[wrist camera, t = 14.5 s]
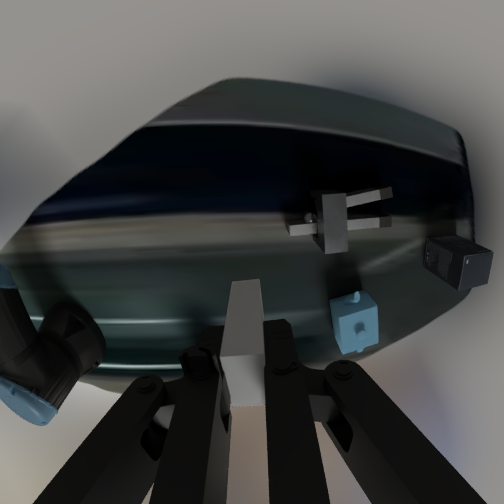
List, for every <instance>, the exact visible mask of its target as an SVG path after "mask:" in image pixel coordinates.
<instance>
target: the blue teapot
mask: <svg viewBox="0 0 504 504" xmlns="http://www.w3.org/2000/svg"><path fill="white" fill-rule="evenodd" d="M329 304H330V310H331V317H332V324H333V331H334V336H335V338H336V341H337V343H338V345H339V347H340V350H341V352H342V354H346V353H349V352H352V351H355V350H356V352H361V351H363V348H365V347H368V346H371V345H373V344H376V343H378V312H377V304H376V303H375V302H374V301H373V299H372V298H371V297H370V296H369V295H368V294H367V292H366V291H365V290H361V291H356V292H355V293H351V294H348V295H344V296H341V297H338V298H334V299H330V300H329Z"/></svg>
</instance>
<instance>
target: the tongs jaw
mask: <svg viewBox="0 0 504 504" xmlns="http://www.w3.org/2000/svg"><path fill="white" fill-rule="evenodd" d="M391 197H393V195H392V189H391V187H390V186H384V185H380V186H375V187H371V188H368V189H363V190H359V191H354V192H350V193H346V202H347V207H351V206H355V205H359V204H363V203H368V202H372V201H376V200H383V199H387V198H391ZM314 202H315V206H316V200H315V201H314ZM316 210H317V206H316Z"/></svg>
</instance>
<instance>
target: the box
mask: <svg viewBox="0 0 504 504" xmlns="http://www.w3.org/2000/svg"><path fill="white" fill-rule="evenodd" d="M492 258H493V251H491V250H489V249H487V248H484V247H482V246H480V245H478V244H476V243H474V242H471V241H469V240H467V239H464V238H462V237H460V236H458V235H448V236H435V237H427V244H426V253H425V262H424V267H425V268H426V269H428V270H429V271H430V272H432V273H433V274H435V275H436V276H438V277H439V278H441V279H442V280H443V281H445V282H446V283H448V284H449V285H451V286H452V287H453V288H455V289H456V290H458V291H461V290H465V289H469V288H473V287H477V286H481V285H485V284H487V283H488V278H489V274H490V269H491V263H492Z"/></svg>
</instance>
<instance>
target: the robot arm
mask: <svg viewBox="0 0 504 504" xmlns="http://www.w3.org/2000/svg"><path fill="white" fill-rule="evenodd" d="M105 355H106V344H105V340H104V337H103V335H102V333H101V331H100V329H99V327H98V326H97V324H96V323H95V322H94V321H93V319H92V318H91V317H90V316H89V315H88V314H87V313H85V312H84V311H83V310H82V309H80V308H78V307H77V306H75V305H73V304H70V303H64V302H62V303H57V304H56V305H54V306H53V307H52V308H51V309H49V310H48V312H47V313H46V315H45V317H44V319H43V321H42V323H41V325H40V327H39V330H38V332H37V331H36V329H35V327H34V325H33V323H32V321H31V319H30V317H29V314H28V312H27V310H26V308H25V306H24V303H23V301H22V298H21V296H20V294H19V291H18V287H17V285H16V284H15V282H14V280H13V278H12V275H11V273H10V270H9V268H8V267H7V266H6V265H4V264H1V263H0V399H1V400H2V401H3V402H4V403H5V404H6V405H7V406H8V407H9V408H10V409H11V410H12V411H14V412H15V413H16V414H17V415H19V416H20V417H21V418H23V419H25V420H26V421H28V422H30V423H32V424H35V425H38V426H44V425H46V424H48V423H49V422H50V421H51V419H52V418H53V417H54V416H55V414H57V413H58V410H59V408H60V406H61V405H62V403H63V402H64V400H65V399H66V397H67V396H68V394H69V393H70V391H71V390H72V388H73V387H74V385H75V384H76V382H77V381H78V379H79V378H80V377H82V376H83V375H85V374H87V373H88V372H90V371H92V370H93V369H95V368H97V367H98V366H99V365H100V363H101V362H102V360H103V359H104V357H105ZM178 357H179V360H180V363H181V366H182V369H183V372H184V376H183V377H182V378H180V379H177V380H174V381H169V382H163V380H162V379H161V378H160V377H158V376H156V375H144V376H141V377H139V378H137V379H136V380H135V381H133V382H132V383H131V385H130V386H129V387H128V388H127V389H126V391H125V392H124V393H123V394H122V395H121V397H120V398H119V399H118V400H117V402H116V403H115V404H114V405H113V406H112V407H111V409H110V410H109V411H108V412H107V413H106V415H105V416H104V417H103V418H102V419H101V421H100V422H99V423H98V424H97V425H96V427H95V428H94V429H93V430H92V432H91V433H90V434H89V435H88V437H87V438H86V439H85V440H84V441H83V442H82V444H81V445H80V446H79V447H78V449H77V450H76V451H75V452H74V454H73V455H72V456H71V457H70V458H69V459H68V461H67V462H66V463H65V465H64V466H63V467H62V468H61V469H60V471H59V472H58V473H57V474H56V475H55V477H54V478H53V479H52V480H51V482H50V483H49V484H48V485H47V487H46V488H45V489H44V490H43V492H42V493H41V494H40V495H39V496H38V498H37V499H36V500H35V502H34V503H33V504H141V503H142V502H143V500H144V498H145V496H146V495H147V493H148V491H149V490H150V488H151V486H152V485H153V483H154V485H153V489H152V494H151V497H150V502H149V504H226V498H227V481H228V467H229V452H230V437H231V421H232V416H231V411H230V400H231V404H232V407H244V406H259V405H265V406H266V427H267V451H268V476H269V503H270V504H330V500H329V494H328V489H327V484H326V478H325V473H324V468H323V463H322V458H321V453H320V448H319V443H318V438H317V433H316V428H315V423H314V421H318V422H321V423H322V425H323V427H324V428H325V430H326V432H327V433H328V435H329V437H330V438H331V440H332V441H333V443H334V445H335V446H336V448H337V450H338V451H339V453H340V454H341V456H342V458H343V459H344V461H345V463H346V464H347V466H348V467H349V469H350V471H351V472H352V474H353V475H354V477H355V478H356V480H357V482H358V483H359V485H360V486H361V488H362V489H363V491H364V492H365V494H366V495H367V497H368V499H369V500H370V502H371V503H372V504H487V503H486V502H485V501H484V500H483V499H482V498H481V497H480V496H479V494H478V493H477V492H476V491H475V490H474V489H473V488H472V487H471V486H470V485H469V484H468V482H467V481H466V480H465V479H464V478H463V477H462V476H461V475H460V474H459V473H458V471H457V470H456V469H455V468H454V467H453V466H452V465H451V464H450V463H449V462H448V461H447V460H446V458H445V457H444V456H443V455H442V454H441V453H440V452H439V451H438V450H437V449H436V448H435V447H434V445H432V443H431V442H430V441H429V440H428V439H427V438H426V437H425V436H424V435H423V434H422V432H421V431H419V429H418V428H417V427H416V426H415V425H414V424H413V423H412V422H411V420H410V419H409V418H408V417H407V416H406V415H405V414H404V413H403V412H402V411H401V410H400V408H399V407H398V406H397V405H396V404H395V403H394V402H393V401H392V400H391V399H390V398H389V397H388V396H387V395H386V393H385V392H384V391H383V390H382V389H381V388H380V387H379V386H378V385H377V384H376V383H375V381H374V380H373V379H372V378H371V377H370V376H369V375H368V374H367V373H366V372H365V371H364V370H363V368H362V367H361V366H360V365H358V364H357V363H355V362H353V361H349V360H339V361H334V362H333V363H331V364H329V365H328V366H327V367H326V368H325V370H317V369H311V368H308V367H306V366H304V365H302V364H301V363H300V361H299V359H298V356H297V351H296V347H295V343H294V338H293V334H292V329H291V325H290V324H289V323H288V322H287V321H286V320H285V319H279V320H270V321H264V315H263V306H262V297H261V288H260V279H254V280H244V281H234V282H232V286H231V292H230V298H229V304H228V310H227V316H226V322H225V325H223V326H208V328H207V329H206V330H205V331H204V332H203V333H202V336H201V341H200V343H199V345H197V346H192V347H189V348H187V349H185V350H184V351H182V352H181V353H180V355H179V356H178Z"/></svg>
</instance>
